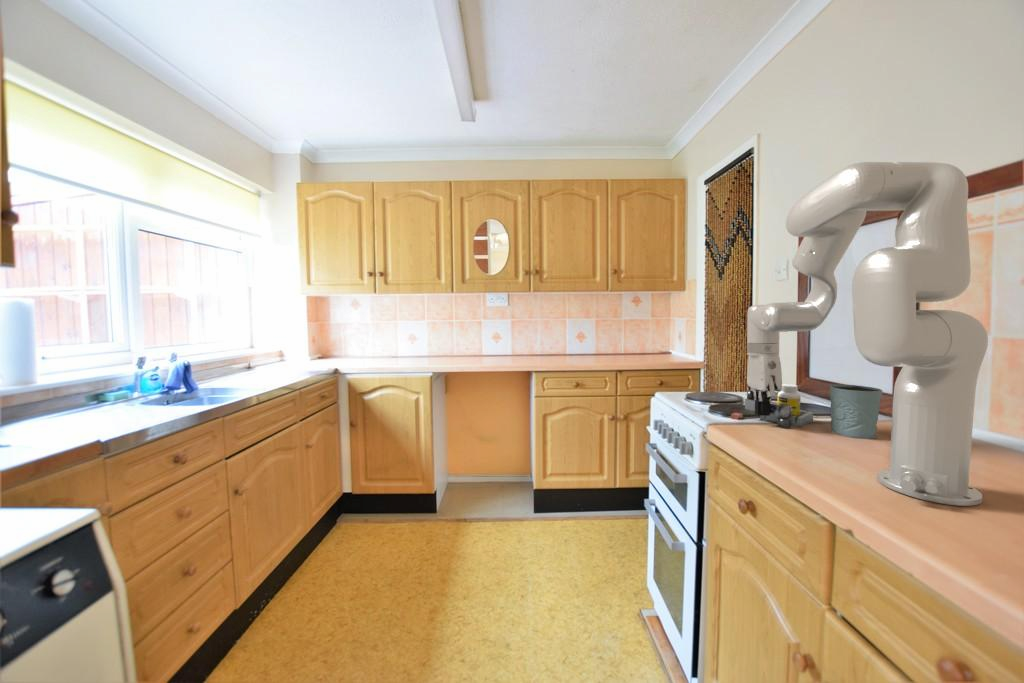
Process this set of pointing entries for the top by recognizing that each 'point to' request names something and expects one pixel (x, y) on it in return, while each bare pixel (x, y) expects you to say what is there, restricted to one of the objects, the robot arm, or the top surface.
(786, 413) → the crank lever
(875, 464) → the top surface
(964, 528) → the top surface
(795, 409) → the supplement bottle
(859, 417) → the embossed green planter pot
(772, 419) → the tray
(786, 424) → the crank post
